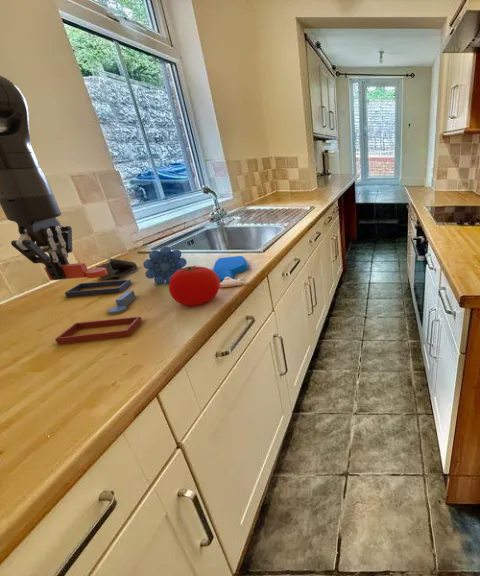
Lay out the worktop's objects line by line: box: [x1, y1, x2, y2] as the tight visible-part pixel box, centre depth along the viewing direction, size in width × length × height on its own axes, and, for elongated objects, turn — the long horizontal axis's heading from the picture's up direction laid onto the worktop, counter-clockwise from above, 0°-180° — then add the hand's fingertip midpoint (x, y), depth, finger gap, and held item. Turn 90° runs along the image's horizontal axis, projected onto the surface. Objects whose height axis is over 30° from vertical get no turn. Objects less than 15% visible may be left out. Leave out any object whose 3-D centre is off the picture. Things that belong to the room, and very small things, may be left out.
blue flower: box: [142, 246, 187, 285], centre depth 100 cm, size 12×7×12 cm, turn 115°
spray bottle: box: [212, 255, 249, 288], centre depth 107 cm, size 3×11×24 cm
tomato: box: [168, 264, 221, 307], centre depth 87 cm, size 11×12×10 cm
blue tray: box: [64, 278, 132, 298], centre depth 95 cm, size 14×7×2 cm, turn 103°
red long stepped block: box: [43, 262, 108, 281], centre depth 68 cm, size 10×4×3 cm, turn 104°
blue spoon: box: [108, 289, 137, 315], centre depth 86 cm, size 10×4×3 cm, turn 13°
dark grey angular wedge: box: [95, 257, 139, 281], centre depth 106 cm, size 10×7×12 cm
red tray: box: [54, 315, 143, 345], centre depth 73 cm, size 14×7×2 cm, turn 103°
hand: (63, 277), depth 68 cm, fingers closed on red long stepped block, 1 cm apart
